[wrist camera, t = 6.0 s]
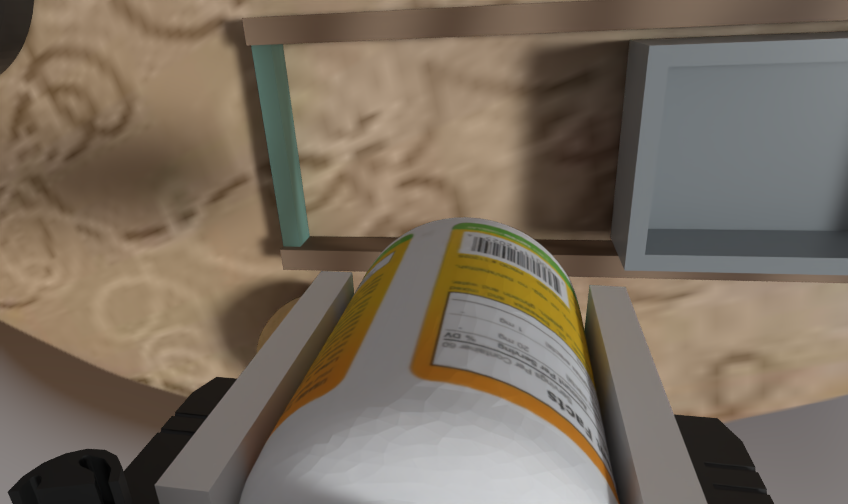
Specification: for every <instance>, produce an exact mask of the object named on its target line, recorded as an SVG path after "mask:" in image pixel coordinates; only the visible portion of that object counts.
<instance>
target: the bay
mask: <svg viewBox="0 0 848 504" xmlns="http://www.w3.org/2000/svg"><path fill="white" fill-rule="evenodd" d="M838 20H848V0H591V1H571V2H551V3H531V4H511V5H492V6H472V7H452V8H432V9H413V10H393V11H373V12H353V13H333V14H314V15H294V16H274V17H254V18H242V22H243V28H244V34H245V40H246V46H248V45H251V48H252V54H253V60H254V67H255V73H256V79H257V85H258V91H259V97H260V104H261V110H262V116H263V122H264V128H265V135H266V141H267V147H268V153H269V159H270V166H271V172H272V178H273V184H274V190H275V196H276V203H277V209H278V215H279V221H280V227H281V234H282V240H283V248H282V249H281V250H280V252H281V258H282V264H283V270H322V271H364V272H368V270H369V269H370V267H371V266H372V264H373V263H374V261H375V260H376V259H377V258H378V256H379V255H380V254H381V253H382V252H383V251H384V250H385V248H387V247H388V246H389V245H390V244H391V243H392V242H394V241H395V240H396V239H398V238H379V237H310V236H309V229H308V221H307V214H306V207H305V200H304V193H303V186H302V179H301V171H300V164H299V157H298V150H297V143H296V136H295V128H294V121H293V114H292V107H291V100H290V93H289V86H288V78H287V71H286V64H285V57H284V50H283V44H295V43H318V42H342V41H366V40H389V39H413V38H437V37H460V36H484V35H507V34H531V33H555V32H578V31H602V30H626V29H649V28H673V27H696V26H720V25H744V24H767V23H791V22H815V21H838ZM535 241H537V242H538V243H539V244H540V245H542V246H543V247H544V248H545V249H546V250H547V251H548V252H549V253H550V254H551V255H552V256H553V257H554V258H555V259H556V260H557V261H558V263H559V264H560V265H561V267H562V268H563V270H564V271H565V273H566V274H567V276H571V277H612V278H654V279H695V280H737V281H778V282H820V283H848V275H806V274H761V273H716V272H671V271H626V270H624V268H623V266H622V264H621V261H620V259H619V256H618V254H617V252H616V249H615V247H614V244H613V242H612V241H589V240H535Z"/></svg>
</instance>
